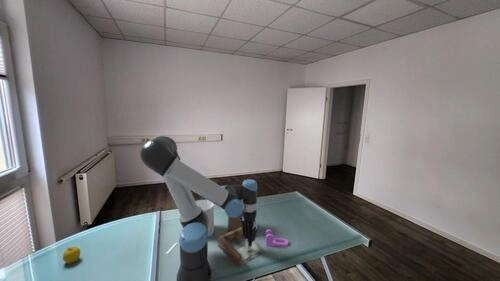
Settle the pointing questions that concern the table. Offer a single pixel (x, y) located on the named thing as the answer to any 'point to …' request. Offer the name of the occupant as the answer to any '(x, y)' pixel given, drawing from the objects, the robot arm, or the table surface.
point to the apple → (71, 254)
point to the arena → (238, 247)
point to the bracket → (275, 240)
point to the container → (208, 213)
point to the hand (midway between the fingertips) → (248, 250)
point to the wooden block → (234, 222)
